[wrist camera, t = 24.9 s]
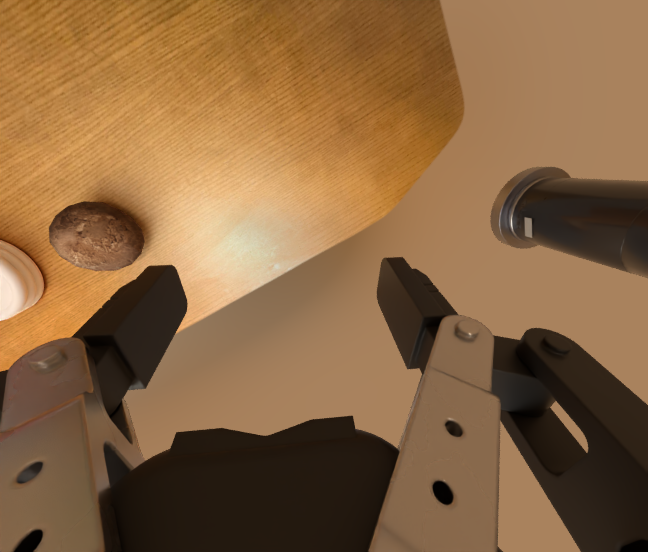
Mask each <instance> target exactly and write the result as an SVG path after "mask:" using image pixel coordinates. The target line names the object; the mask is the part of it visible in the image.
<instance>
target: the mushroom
mask: <svg viewBox="0 0 648 552" xmlns="http://www.w3.org/2000/svg"><path fill="white" fill-rule="evenodd" d="M49 238H50V243H51V245H52V246H53V247H54V249H55V250H56V252H57V253H58V254H59V256H61V257H62V258H64V259H65V260H67V261H68V262H70V263H72V264H73V265H75V266H77V267H81V268H86V269H90V270H95V271H114V270H118V269H121V268H123V267H126V266H128V265H131V264H132V263H133V262H134V261H135V260H136V259H137V258H138V257H139V256H140V254H141V253H142V249H143V246H144V242H145V241H144V237H143V232H142V229H141V228H140V227H139V226H138V224H137V223H136V222H135V221H134V220H133V219H132V218H131V217H130V216H128V215H127V214H125V213H124V212H122V211H121V210H119V209H116V208H114V207H112V206H110V205H108V204H105V203H103V202H86V201H84V202H81V203H77V204H74V205H70V206H68V207H66V208H65V209H64V210H62V211H61V212H60V213H59V214H57V215H56V216H55V218H54V220H53V222H52V223H51V225H50V227H49Z"/></svg>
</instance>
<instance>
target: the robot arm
mask: <svg viewBox="0 0 648 552" xmlns="http://www.w3.org/2000/svg"><path fill="white" fill-rule="evenodd" d="M508 227H509V230H510V232H511V234H512V235H513V236H514V237H515V238H517V239H519V240H522V241H525V242H531V243H534V244H537V245H541V246H544V247H547V248H550V249H553V250H557V251H560V252H563V253H566V254H570V255H573V256H576V257H579V258H583V259H586V260H589V261H593V262H596V263H599V264H602V265H606V266H609V267H612V268H616V269H619V270H622V271H626V272H629V273H633V274H636V275H639V276H642V277H646V278H648V181H627V180H602V179H601V180H600V179H578V178H558V177H542V178H539V179H536V180H534V181H532V182H531V183H529V184H528V185H526V186H525V187H524V188H523V189H522V190H521V191H520V192H519V193H518V195H517V196H516V197H515V199H514V201H513V203H512V205H511V207H510V210H509V214H508ZM377 300H378V304H379V306H380V308H381V311H382V313H383V315H384V317H385V320H386V322H387V324H388V326H389V329H390V331H391V333H392V336H393V338H394V340H395V342H396V345H397V347H398V349H399V351H400V353H401V356H402V358H403V360H404V363H405V365H406V367H407V369H416V368H420V370H421V372H422V377H421V379H420V382H419V385H418V388H417V392H416V394H415V397H414V401H413V404H412V407H411V410H410V413H409V416H408V419H407V422H406V425H405V428H404V431H403V434H402V436H401V440H400V442H399V445H398V448H396V447H394V446H393V445H392V444H390V443H389V442H387V441H385V440H384V439H382V438H380V437H378V436H376V435H374V434H371V433H368V432H365V431H362V430H357V429H355V425H354V420H353V416H345V417H334V418H324V419H313V420H309V421H306V422H304V423H301V424H298V425H296V426H293V427H290V428H288V429H285V430H282V431H280V432H277V433H274V434H272V435H268V436H261V435H256V434H251V433H245V432H240V431H235V430H229V429H224V428H217V429H207V430H197V431H186V432H177V433H176V435H175V438H174V441H173V443H172V446H171V448H170V449H168V450H166V451H164V452H162V453H159V454H157V455H155V456H153V457H152V458H150V459H148V460H146V461H145V460H144V458H143V455H142V453H141V450H140V447H139V444H138V440H137V437H136V434H135V430H134V427H133V423H132V420H131V416H130V413H129V409H128V406H127V403H126V401H125V400H124V398H123V397H124V396H125V394H126V392H127V390H135V389H145V388H146V387H147V385H148V383H149V381H150V379H151V378H152V376H153V374H154V372H155V370H156V368H157V366H158V364H159V363H160V361H161V359H162V357H163V355H164V353H165V352H166V349H167V348H168V346H169V344H170V342H171V340H172V339H173V337H174V335H175V333H176V331H177V329H178V327H179V325H180V324H181V322H182V320H183V318H184V316H185V314H186V312H187V298H186V295H185V292H184V290H183V287H182V284H181V281H180V278H179V275H178V272H177V270H176V268H175V267H174V266H173V265H158V266H148V267H147V268H146V269H145V270H144V271H143V272H142V273H141V274H140V275H139V276H138V277H137V279H136V280H133V281H131V282H129V283H128V284H126V285H124V286H123V287H121V288H120V289H119V290H118V291H117V292H116V293H115V294H114V295H113V296H112V297H111V298H110V300H108V301H107V302H106V303H105V304H104V305H103V306H102V308H100V309H99V310H98V311H97V312H96V313H95V314H94V315H93V316H92V317H91V318H90V319H89V320H88V321H87V322H86V323H85V324H84V325H83V326H82V327H81V328H80V329H79V330H78V331H77V332H76V333H75V334H74V335H73V336H72V337H71V338H62V339H58V340H54V341H51V342H48V343H45V344H43V345H41V346H39V347H37V348H35V349H33V350H31V351H29V352H28V353H26V354H25V355H23V356H22V357H21V358H19V359H18V360H17V361H16V362H15V363H14V364H13V365H12V366H11V367H10V369H9V370H5V371H1V372H0V552H503V551H502V550H501V549H500V548H499V547H498V546H497V545H498V502H499V455H500V420H501V422H502V424H503V425H504V427H505V428H506V430H507V432H508V433H509V435H510V437H511V438H512V440H513V441H514V443H515V445H516V446H517V448H518V450H519V451H520V453H521V455H522V456H523V457H524V459H525V461H526V463H527V464H528V466H529V468H530V469H531V471H532V472H533V474H534V476H535V477H536V479H537V480H538V482H539V484H540V485H541V487H542V489H543V490H544V492H545V494H546V495H547V497H548V499H549V500H550V502H551V503H552V505H553V507H554V508H555V510H556V511H557V513H558V515H559V516H560V518H561V520H562V521H563V523H564V524H565V526H566V528H567V529H568V531H569V533H570V534H571V536H572V538H573V539H574V541H575V543H576V544H577V546H578V547H579V549H580V551H581V552H648V405H647V404H646V403H644V402H643V401H642V400H641V399H640V398H639V397H638V396H637V395H635V394H634V393H633V392H632V391H631V390H630V389H629V388H627V387H626V386H625V385H624V384H623V383H622V382H620V381H619V380H618V379H617V378H616V377H615V376H614V375H612V374H611V373H610V372H609V371H608V370H607V369H606V368H604V367H603V366H602V365H601V364H600V363H599V362H597V361H596V360H595V359H594V358H593V357H592V356H591V355H589V354H588V353H587V352H586V351H584V350H583V349H582V348H581V347H580V346H579V345H578V344H577V343H575V342H574V341H572V340H571V339H569V338H567V337H565V336H563V335H561V334H559V333H556V332H553V331H551V330H547V329H541V328H532V329H529V330H527V331H526V332H525V333H524V335H523V336H522V338H521V340H515V339H510V338H504V337H499V336H494V335H492V333H491V331H490V330H489V329H488V328H487V327H486V326H485V325H483V324H482V323H480V322H478V321H477V320H474V319H472V318H470V317H466V316H462V315H458V314H457V312H456V311H455V310H454V309H453V307H452V306H451V305H450V304H449V303H448V301H447V300H446V299H445V298H444V297H443V295H442V294H441V293H440V292H439V291H438V289H437V288H436V287H435V286H434V285H433V283H432V282H431V281H430V279H429V278H428V277H427V276H426V275H425V274H423V273H422V272H420V271H419V270H417V269H412V268H411V267H410V266H409V264H408V263H407V262H406V261H405V259H404V258H403V257H395V258H384V259H383V260H382V262H381V268H380V274H379V281H378V287H377ZM555 401H557V402H558V403H559V405H560V406H561V407H562V408H563V409H564V410H565V411H566V413H567V414H568V415H569V416H570V418H571V419H572V420H573V421H574V422H575V423H576V425H577V426H578V427H579V428H580V429H581V431H582V432H583V433H584V435H585V437H586V439H587V442H588V453H586V452H585V450H584V449H583V448H582V446H581V445H580V444H579V443H578V442H577V440H576V439H575V438H574V437H573V436H572V434H571V433H570V432H569V430H568V429H567V428H566V427H565V426H564V424H563V423H562V422H561V421H560V419H559V418H558V417H557V416H556V414H555V413H554V412H553V411H552V410H551V408H550V407H551V406H552V404H553V403H554V402H555Z"/></svg>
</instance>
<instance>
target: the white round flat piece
mask: <svg viewBox="0 0 648 552" xmlns="http://www.w3.org/2000/svg"><path fill="white" fill-rule="evenodd" d="M43 291H44V281H43V277H42V274H41V272H40V270H39V268H38V267H37V266H36V264H35V263H34V262H33V261H32V259H31V258H30V257H28V256H27V255H26V254H25V253H24V252H22V251H21V250H20V249H18V248H16V247H15V246H13V245H11V244H9V243H7V242H5V241H2V240H0V321H2V320H5V319H9V318H11V317H13V316H15V315H16V314H18V313H20V312H22V311H24V310H25V309H27V308H30V307H31V306H33V305H34V304H35V303H36V302H37V301H38V300H39V299H40V298H41V296H42V294H43Z"/></svg>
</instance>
